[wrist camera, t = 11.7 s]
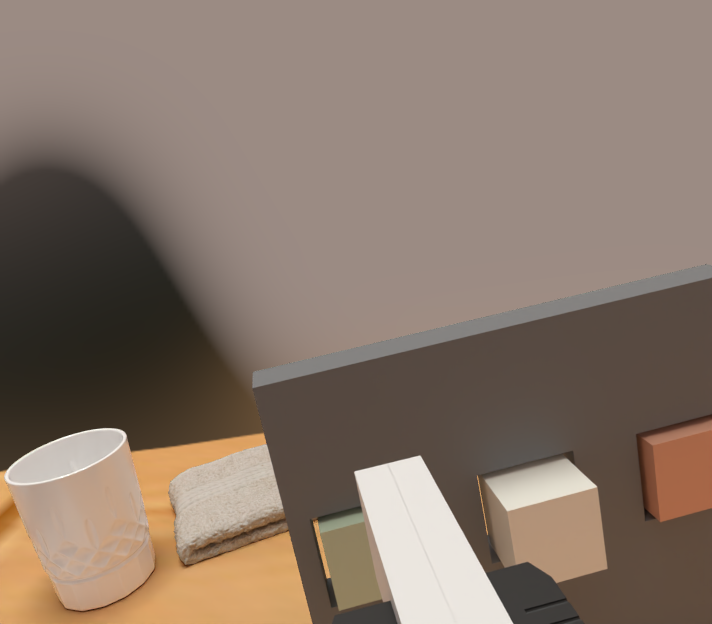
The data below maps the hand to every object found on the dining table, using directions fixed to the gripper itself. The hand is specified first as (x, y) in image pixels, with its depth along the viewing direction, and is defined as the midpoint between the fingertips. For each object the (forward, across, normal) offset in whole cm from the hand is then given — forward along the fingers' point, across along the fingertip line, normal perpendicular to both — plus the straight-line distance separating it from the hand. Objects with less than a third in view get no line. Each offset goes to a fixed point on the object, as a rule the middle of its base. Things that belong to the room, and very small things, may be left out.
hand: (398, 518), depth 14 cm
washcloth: (+36, -5, -19) cm, 41 cm away
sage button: (+12, 0, -10) cm, 15 cm away
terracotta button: (+12, +14, -10) cm, 21 cm away
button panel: (+15, +7, -18) cm, 24 cm away
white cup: (+31, -18, -19) cm, 40 cm away
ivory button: (+10, +7, -10) cm, 15 cm away
